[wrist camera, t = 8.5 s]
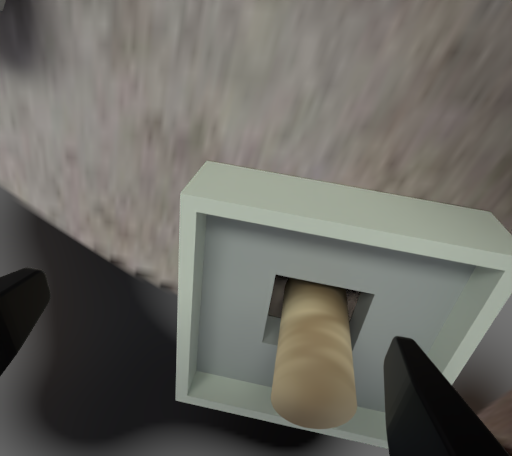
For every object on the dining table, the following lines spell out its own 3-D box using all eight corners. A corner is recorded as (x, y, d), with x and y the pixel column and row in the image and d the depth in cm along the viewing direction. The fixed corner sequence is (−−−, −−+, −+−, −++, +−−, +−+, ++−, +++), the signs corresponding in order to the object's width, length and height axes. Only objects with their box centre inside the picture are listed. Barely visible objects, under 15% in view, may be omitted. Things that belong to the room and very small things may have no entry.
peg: (353, 274, 23) (368, 386, 16) (337, 320, 25) (344, 436, 18) (290, 262, 23) (278, 366, 16) (280, 308, 25) (265, 418, 18)
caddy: (490, 211, 19) (533, 259, 15) (395, 391, 27) (407, 453, 23) (206, 160, 20) (180, 193, 16) (195, 348, 28) (175, 400, 24)
